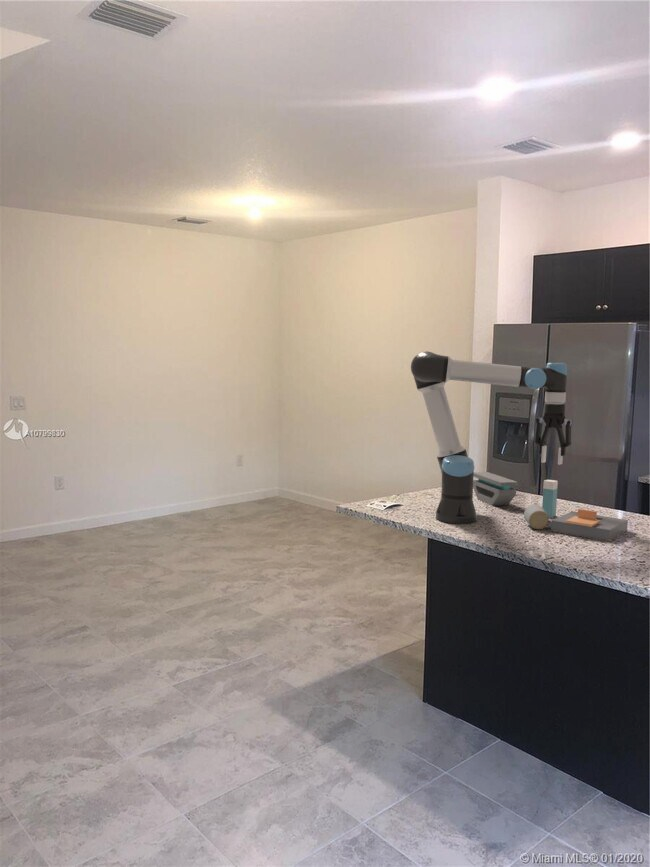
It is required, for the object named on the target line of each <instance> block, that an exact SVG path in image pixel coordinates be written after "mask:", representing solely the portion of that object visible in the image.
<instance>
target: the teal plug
mask: <svg viewBox="0 0 650 867" xmlns="http://www.w3.org/2000/svg"><path fill="white" fill-rule="evenodd" d="M558 484H559V481H558V480H555V479H545V480H543V484H542V485H543V488H542V490H543V491H542V505H541V507H542V508H543V509H544V511H545V512H546V513H547V515H548V518H549V517H551V518H550V519H552V517H553V518H555V517H556V516H557V501H558ZM554 516H555V517H554Z"/></svg>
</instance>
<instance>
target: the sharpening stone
mask: <svg viewBox="0 0 650 867" xmlns="http://www.w3.org/2000/svg"><path fill="white" fill-rule="evenodd" d="M473 478H476V479H477V480H476V479H475V480H474V479H473V492H474V494H475V497H476V498H477V500H478V501H479V500H480V502H481V501H482V503H484V502H485V504H486V503H487V505H489V506H491V505H493V506H508V505H509V504H510V503H511V502H512V500H513V499H514V498H515V497H516V494H517V488H516V489H515V488H513V487H515V486H516V487H518V486H519V482H518V481H516V480H513V479H510V478H507V477H505V476H501V475H498V474H495V473H492V472H488V471H482V472H481V471H479V472H477V471H476V472H475V471H474V475H473Z"/></svg>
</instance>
